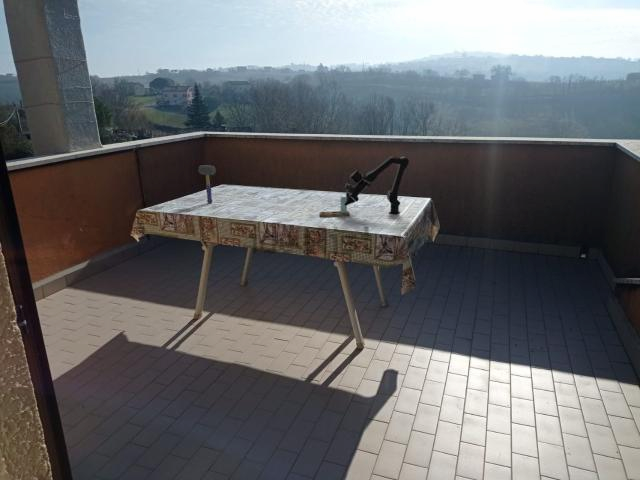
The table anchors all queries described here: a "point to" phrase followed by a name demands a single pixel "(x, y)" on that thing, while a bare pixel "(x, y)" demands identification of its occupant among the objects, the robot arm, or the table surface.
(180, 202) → the table surface
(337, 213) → the walnut rack
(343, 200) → the teal board
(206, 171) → the rubber mallet
